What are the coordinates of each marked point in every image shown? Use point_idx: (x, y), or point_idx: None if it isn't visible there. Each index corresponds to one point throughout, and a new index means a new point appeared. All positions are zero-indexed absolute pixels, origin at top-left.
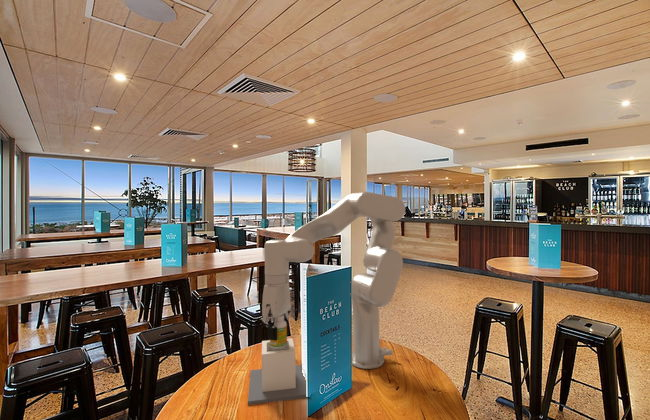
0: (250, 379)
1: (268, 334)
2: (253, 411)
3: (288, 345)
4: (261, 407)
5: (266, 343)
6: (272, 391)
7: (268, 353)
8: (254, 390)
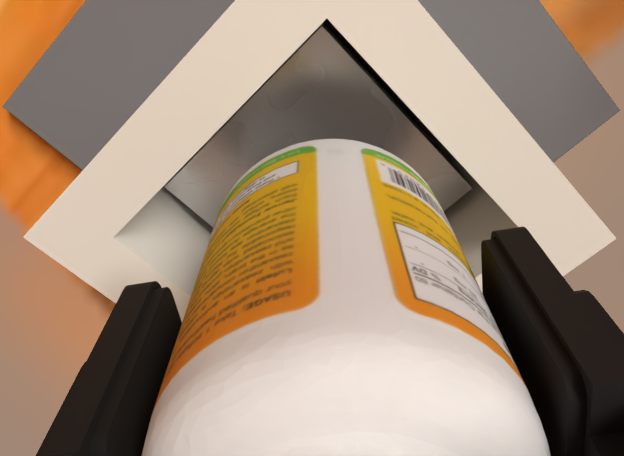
0: None
1: (72, 387)
2: (6, 176)
3: (490, 227)
4: (64, 187)
5: (294, 45)
6: None
7: (98, 281)
8: (114, 42)
